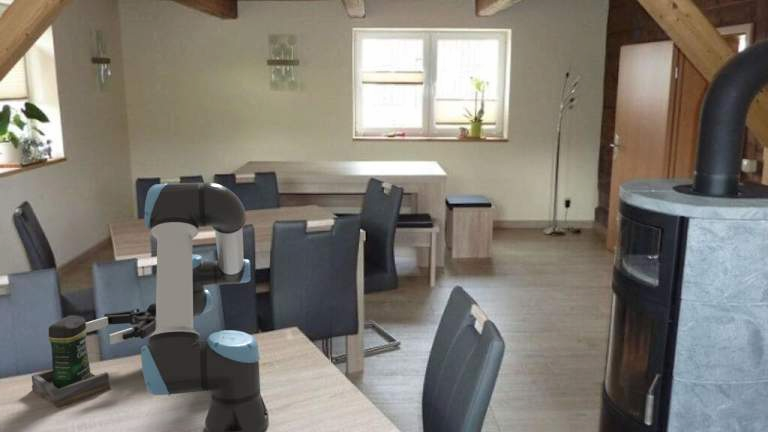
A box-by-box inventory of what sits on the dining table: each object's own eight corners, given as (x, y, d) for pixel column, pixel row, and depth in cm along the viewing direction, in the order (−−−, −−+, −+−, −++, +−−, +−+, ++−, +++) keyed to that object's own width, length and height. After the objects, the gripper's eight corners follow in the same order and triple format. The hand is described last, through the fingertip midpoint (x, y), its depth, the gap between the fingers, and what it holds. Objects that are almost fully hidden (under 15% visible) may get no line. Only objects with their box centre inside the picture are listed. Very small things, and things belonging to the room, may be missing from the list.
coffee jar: (76, 392, 172) (69, 326, 168) (48, 390, 173) (41, 325, 169) (96, 376, 181) (90, 313, 178) (70, 374, 182) (63, 312, 178)
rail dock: (110, 389, 177) (109, 373, 176) (58, 408, 167) (56, 392, 166) (83, 372, 187) (81, 358, 186) (32, 390, 176) (30, 375, 175)
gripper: (190, 334, 190) (122, 358, 174) (143, 315, 205) (77, 335, 189) (188, 310, 188) (120, 331, 172) (141, 292, 203) (74, 311, 187)
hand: (97, 333), depth 180 cm, fingers open, 13 cm apart
